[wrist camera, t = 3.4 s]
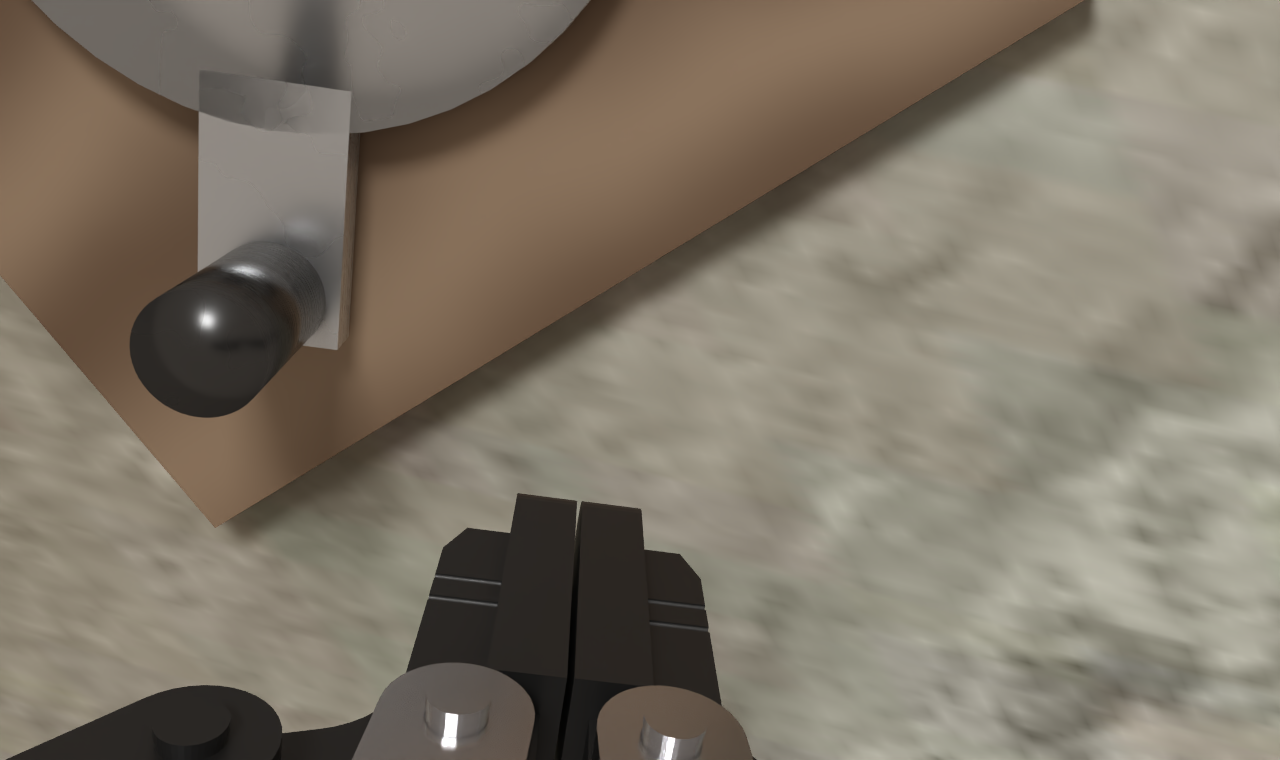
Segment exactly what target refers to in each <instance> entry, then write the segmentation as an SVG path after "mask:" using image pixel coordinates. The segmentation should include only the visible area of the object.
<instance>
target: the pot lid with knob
mask: <svg viewBox="0 0 1280 760" xmlns="http://www.w3.org/2000/svg"><path fill="white" fill-rule="evenodd" d="M32 1H33V2H34V3H35V4H36V5H37V6H38V7H39V8H40V9H41V10H42V11H43V12H44V13H45V14H46V15H47V16H48V17H49V18H50V19H51V20H52V21H53V22H54V23H55V24H56V25H57V26H58V27H59V28H61V29H62V30H63V31H64V32H66V33H67V34H68V35H69V36H71V37H72V38H73V39H74V40H75V41H77V42H78V43H79V44H80V45H82V46H83V47H84V48H85V49H87V50H88V51H89V52H90V53H92V54H93V55H94V56H95V57H97V58H98V59H100V60H101V61H103V62H104V63H106V64H108V65H109V66H111V67H112V68H114V69H115V70H117V71H119V72H120V73H122V74H123V75H125V76H126V77H128V78H130V79H131V80H133V81H134V82H136V83H137V84H139V85H141V86H143V87H145V88H147V89H149V90H151V91H153V92H155V93H157V94H160V95H162V96H164V97H166V98H168V99H170V100H172V101H174V102H176V103H178V104H180V105H182V106H185V107H188V108H191V109H193V110H196V111H199V157H198V272H197V273H195V274H194V275H192V276H191V277H189V278H187V279H186V280H184V281H183V282H181V283H179V284H178V285H176V286H175V287H173V288H171V289H170V290H168V291H167V292H165V293H163V294H162V295H160V296H159V297H157V298H155V299H154V300H153V301H151V302H150V303H149V304H148V305H146V306H145V307H144V308H143V310H142V311H141V312H140V313H139V315H138V316H137V318H136V320H135V322H134V324H133V327H132V330H131V335H130V344H129V347H130V356H131V361H132V364H133V367H134V370H135V372H136V374H137V376H138V378H139V380H140V381H141V382H142V384H143V385H144V387H145V388H146V389H147V390H148V391H149V393H150V394H151V395H153V396H154V397H155V398H156V399H157V400H158V401H160V402H161V403H162V404H164V405H165V406H167V407H169V408H171V409H173V410H175V411H177V412H179V413H182V414H186V415H189V416H194V417H202V418H213V417H220V416H225V415H228V414H231V413H233V412H236V411H238V410H240V409H241V408H243V407H244V406H246V405H247V404H248V403H249V402H250V401H251V400H252V399H253V398H254V397H255V396H256V395H257V394H258V393H259V392H260V391H261V390H262V389H263V388H264V386H265V385H266V384H267V383H268V382H269V381H270V380H271V379H272V378H273V377H274V376H275V375H276V374H277V373H278V371H279V370H280V369H281V368H282V367H283V366H284V365H285V364H286V363H287V362H288V361H289V360H290V359H291V358H292V356H293V355H294V354H295V353H296V352H297V351H298V350H299V349H300V348H301V347H302V346H310V347H318V348H325V349H333V350H338V349H339V348H340V346H341V345H342V344H343V343H344V341H345V340H346V339H347V338H348V337H349V319H350V302H351V284H352V267H353V249H354V232H355V214H356V197H357V179H358V162H359V145H360V133H362V132H369V131H374V130H380V129H385V128H390V127H395V126H401V125H406V124H410V123H413V122H416V121H419V120H422V119H425V118H428V117H431V116H434V115H437V114H439V113H442V112H445V111H448V110H451V109H453V108H455V107H457V106H459V105H461V104H463V103H465V102H467V101H469V100H471V99H473V98H475V97H477V96H479V95H481V94H483V93H485V92H487V91H489V90H491V89H493V88H494V87H496V86H497V85H499V84H500V83H502V82H503V81H504V80H506V79H507V78H509V77H510V76H512V75H513V74H515V73H516V72H517V71H519V70H520V69H522V68H523V67H525V66H526V65H528V64H529V63H531V62H532V61H533V60H534V59H535V58H536V57H537V56H539V55H540V54H541V53H542V52H543V51H544V50H545V49H546V48H547V47H548V46H550V45H551V44H552V43H553V42H554V41H555V40H556V39H557V38H558V37H559V36H560V35H562V34H563V33H564V32H565V31H566V30H567V28H568V27H569V26H570V25H571V24H572V22H573V21H574V20H575V19H576V18H577V16H578V15H579V14H580V13H581V12H582V10H583V9H584V8H585V7H586V6H587V4H588V3H589V2H590V1H591V0H32Z"/></svg>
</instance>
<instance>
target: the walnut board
mask: <svg viewBox="0 0 1280 760" xmlns="http://www.w3.org/2000/svg"><path fill="white" fill-rule="evenodd" d="M1082 1H1084V0H591V1H590V2H589V3H588V4H587V6H586V7H585V8H584V9H583V10H582V12H581V13H580V14H579V15H578V16H577V18H576V19H575V20H574V21H573V22H572V24H571V25H570V26H569V27H568V28H567V30H566V31H565V32H564V33H563V34H562V35H560V36H559V37H558V38H557V39H556V40H555V41H554V42H553V43H552V44H551V45H550V46H548V47H547V48H546V49H545V50H544V51H543V52H542V53H541V54H540V55H539V56H537V57H536V58H535V59H534V60H533V61H532V62H531V63H529V64H528V65H526V66H525V67H523V68H522V69H520V70H519V71H517V72H516V73H515V74H513V75H512V76H510V77H509V78H507V79H506V80H504V81H503V82H502V83H500V84H499V85H497V86H496V87H494V88H493V89H491V90H489V91H487V92H485V93H483V94H481V95H479V96H477V97H475V98H473V99H471V100H469V101H467V102H465V103H463V104H461V105H459V106H457V107H455V108H453V109H451V110H448V111H445V112H442V113H439V114H437V115H434V116H431V117H428V118H425V119H422V120H419V121H416V122H413V123H410V124H406V125H401V126H395V127H390V128H385V129H380V130H374V131H369V132H362V133H360V145H359V162H358V179H357V197H356V214H355V232H354V249H353V267H352V284H351V302H350V319H349V337H348V338H347V339H346V340H345V341H344V343H343V344H342V345H341V346H340V348H339V349H338V350H333V349H325V348H318V347H310V346H302V347H301V348H300V349H299V350H298V351H297V352H296V353H295V354H294V355H293V356H292V358H291V359H290V360H289V361H288V362H287V363H286V364H285V365H284V366H283V367H282V368H281V369H280V370H279V371H278V373H277V374H276V375H275V376H274V377H273V378H272V379H271V380H270V381H269V382H268V383H267V384H266V385H265V386H264V388H263V389H262V390H261V391H260V392H259V393H258V394H257V395H256V396H255V397H254V398H253V399H252V400H251V401H250V402H249V403H248V404H247V405H246V406H244V407H243V408H241V409H240V410H238V411H236V412H233V413H231V414H228V415H225V416H220V417H213V418H202V417H194V416H189V415H186V414H182V413H179V412H177V411H175V410H173V409H171V408H169V407H167V406H165V405H164V404H162V403H161V402H160V401H158V400H157V399H156V398H155V397H154V396H153V395H151V394H150V393H149V391H148V390H147V389H146V388H145V387H144V385H143V384H142V382H141V381H140V380H139V378H138V376H137V374H136V372H135V370H134V367H133V364H132V361H131V356H130V347H129V344H130V335H131V330H132V327H133V324H134V322H135V320H136V318H137V316H138V315H139V313H140V312H141V311H142V310H143V308H144V307H145V306H146V305H148V304H149V303H150V302H151V301H153V300H154V299H155V298H157V297H159V296H160V295H162V294H163V293H165V292H167V291H168V290H170V289H171V288H173V287H175V286H176V285H178V284H179V283H181V282H183V281H184V280H186V279H187V278H189V277H191V276H192V275H194V274H195V273H197V272H198V157H199V111H196V110H193V109H191V108H188V107H185V106H182V105H180V104H178V103H176V102H174V101H172V100H170V99H168V98H166V97H164V96H162V95H160V94H157V93H155V92H153V91H151V90H149V89H147V88H145V87H143V86H141V85H139V84H137V83H136V82H134V81H133V80H131V79H130V78H128V77H126V76H125V75H123V74H122V73H120V72H119V71H117V70H115V69H114V68H112V67H111V66H109V65H108V64H106V63H104V62H103V61H101V60H100V59H98V58H97V57H95V56H94V55H93V54H92V53H90V52H89V51H88V50H87V49H85V48H84V47H83V46H82V45H80V44H79V43H78V42H77V41H75V40H74V39H73V38H72V37H71V36H69V35H68V34H67V33H66V32H64V31H63V30H62V29H61V28H59V27H58V26H57V25H56V24H55V23H54V22H53V21H52V20H51V19H50V18H49V17H48V16H47V15H46V14H45V13H44V12H43V11H42V10H41V9H40V8H39V7H38V6H37V5H36V4H35V3H34V2H33V1H32V0H0V276H1V277H2V278H3V279H4V280H5V282H6V283H7V284H8V285H9V286H10V287H11V289H12V290H13V291H14V292H15V293H16V294H17V296H18V297H19V298H20V299H21V300H22V301H23V303H24V304H25V305H26V306H27V307H28V309H29V310H30V311H31V312H32V313H33V314H34V316H35V317H36V318H37V319H38V320H39V321H40V323H41V324H42V325H43V326H44V327H45V328H46V330H47V331H48V332H49V333H50V334H51V336H52V337H53V338H54V339H55V340H56V341H57V343H58V344H59V345H60V346H61V347H62V348H63V350H64V351H65V352H66V353H67V354H68V356H69V357H70V358H71V359H72V360H73V361H74V363H75V364H76V365H77V366H78V367H79V368H80V370H81V371H82V372H83V373H84V374H85V375H86V377H87V378H88V379H89V380H90V381H91V383H92V384H93V385H94V386H95V387H96V388H97V390H98V391H99V392H100V393H101V394H102V395H103V397H104V398H105V399H106V400H107V401H108V403H109V404H110V405H111V406H112V407H113V408H114V410H115V411H116V412H117V413H118V414H119V415H120V417H121V418H122V419H123V420H124V421H125V422H126V424H127V425H128V426H129V427H130V428H131V430H132V431H133V432H134V433H135V434H136V435H137V437H138V438H139V439H140V440H141V441H142V442H143V444H144V445H145V446H146V447H147V448H148V450H149V451H150V452H151V453H152V454H153V455H154V457H155V458H156V459H157V460H158V461H159V462H160V464H161V465H162V466H163V467H164V468H165V469H166V471H167V472H168V473H169V474H170V475H171V477H172V478H173V479H174V480H175V481H176V482H177V484H178V485H179V486H180V487H181V488H182V489H183V491H184V492H185V493H186V494H187V495H188V496H189V498H190V499H191V500H192V501H193V502H194V504H195V505H196V506H197V507H198V508H199V509H200V511H201V512H202V513H203V514H204V515H205V516H206V518H207V519H208V520H209V521H210V522H211V524H212V525H213V526H214V527H215V528H216V527H218V526H219V525H221V524H222V523H224V522H226V521H227V520H229V519H231V518H232V517H234V516H236V515H237V514H239V513H241V512H242V511H244V510H246V509H247V508H249V507H250V506H252V505H254V504H255V503H257V502H259V501H260V500H262V499H264V498H265V497H267V496H269V495H270V494H272V493H274V492H275V491H277V490H278V489H280V488H282V487H283V486H285V485H287V484H288V483H290V482H292V481H293V480H295V479H297V478H298V477H300V476H302V475H303V474H305V473H306V472H308V471H310V470H311V469H313V468H315V467H316V466H318V465H320V464H321V463H323V462H325V461H326V460H328V459H330V458H331V457H333V456H334V455H336V454H338V453H339V452H341V451H343V450H344V449H346V448H348V447H349V446H351V445H353V444H354V443H356V442H358V441H359V440H361V439H362V438H364V437H366V436H367V435H369V434H371V433H372V432H374V431H376V430H377V429H379V428H381V427H382V426H384V425H386V424H387V423H389V422H390V421H392V420H394V419H395V418H397V417H399V416H400V415H402V414H404V413H405V412H407V411H409V410H410V409H412V408H414V407H415V406H417V405H419V404H420V403H422V402H423V401H425V400H427V399H428V398H430V397H432V396H433V395H435V394H437V393H438V392H440V391H442V390H443V389H445V388H447V387H448V386H450V385H451V384H453V383H455V382H456V381H458V380H460V379H461V378H463V377H465V376H466V375H468V374H470V373H471V372H473V371H475V370H476V369H478V368H479V367H481V366H483V365H484V364H486V363H488V362H489V361H491V360H493V359H494V358H496V357H498V356H499V355H501V354H503V353H504V352H506V351H507V350H509V349H511V348H512V347H514V346H516V345H517V344H519V343H521V342H522V341H524V340H526V339H527V338H529V337H531V336H532V335H534V334H535V333H537V332H539V331H540V330H542V329H544V328H545V327H547V326H549V325H550V324H552V323H554V322H555V321H557V320H559V319H560V318H562V317H563V316H565V315H567V314H568V313H570V312H572V311H573V310H575V309H577V308H578V307H580V306H582V305H583V304H585V303H587V302H588V301H590V300H591V299H593V298H595V297H596V296H598V295H600V294H601V293H603V292H605V291H606V290H608V289H610V288H611V287H613V286H615V285H616V284H618V283H619V282H621V281H623V280H624V279H626V278H628V277H629V276H631V275H633V274H634V273H636V272H638V271H639V270H641V269H643V268H644V267H646V266H647V265H649V264H651V263H652V262H654V261H656V260H657V259H659V258H661V257H662V256H664V255H666V254H667V253H669V252H671V251H672V250H674V249H675V248H677V247H679V246H680V245H682V244H684V243H685V242H687V241H689V240H690V239H692V238H694V237H695V236H697V235H699V234H700V233H702V232H703V231H705V230H707V229H708V228H710V227H712V226H713V225H715V224H717V223H718V222H720V221H722V220H723V219H725V218H727V217H728V216H730V215H731V214H733V213H735V212H736V211H738V210H740V209H741V208H743V207H745V206H746V205H748V204H750V203H751V202H753V201H755V200H756V199H758V198H759V197H761V196H763V195H764V194H766V193H768V192H769V191H771V190H773V189H774V188H776V187H778V186H779V185H781V184H783V183H784V182H786V181H787V180H789V179H791V178H792V177H794V176H796V175H797V174H799V173H801V172H802V171H804V170H806V169H807V168H809V167H811V166H812V165H814V164H815V163H817V162H819V161H820V160H822V159H824V158H825V157H827V156H829V155H830V154H832V153H834V152H835V151H837V150H839V149H840V148H842V147H843V146H845V145H847V144H848V143H850V142H852V141H853V140H855V139H857V138H858V137H860V136H862V135H863V134H865V133H867V132H868V131H870V130H871V129H873V128H875V127H876V126H878V125H880V124H881V123H883V122H885V121H886V120H888V119H890V118H891V117H893V116H895V115H896V114H898V113H899V112H901V111H903V110H904V109H906V108H908V107H909V106H911V105H913V104H914V103H916V102H918V101H919V100H921V99H923V98H924V97H926V96H927V95H929V94H931V93H932V92H934V91H936V90H937V89H939V88H941V87H942V86H944V85H946V84H947V83H949V82H951V81H952V80H954V79H955V78H957V77H959V76H960V75H962V74H964V73H965V72H967V71H969V70H970V69H972V68H974V67H975V66H977V65H979V64H980V63H982V62H983V61H985V60H987V59H988V58H990V57H992V56H993V55H995V54H997V53H998V52H1000V51H1002V50H1003V49H1005V48H1007V47H1008V46H1010V45H1011V44H1013V43H1015V42H1016V41H1018V40H1020V39H1021V38H1023V37H1025V36H1026V35H1028V34H1030V33H1031V32H1033V31H1035V30H1036V29H1038V28H1039V27H1041V26H1043V25H1044V24H1046V23H1048V22H1049V21H1051V20H1053V19H1054V18H1056V17H1058V16H1059V15H1061V14H1063V13H1064V12H1066V11H1067V10H1069V9H1071V8H1072V7H1074V6H1076V5H1077V4H1079V3H1081V2H1082Z"/></svg>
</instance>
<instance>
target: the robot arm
mask: <svg viewBox="0 0 1280 760" xmlns="http://www.w3.org/2000/svg"><path fill="white" fill-rule="evenodd" d="M576 509H577V501H574V500H566V499H559V498H551V497H543V496H535V495H527V494H519V493H518V494H517V499H516V505H515V510H514V516H513V521H512V527H511V533H504V532H496V531H488V530H480V529H472V528H467V529H466V530H464V531H463V532H462V533H461V534H459V535H458V536H457V537H456V538H454V539H453V540H452V541H451V542H449V543H448V544H447V545H446V546H445V547H443V550H442V553H441V557H440V560H439V563H438V567H437V570H436V574H435V578H434V580H433V584H432V587H431V590H430V594H429V600H427V604H426V607H425V611H424V614H423V617H422V621H421V624H420V627H419V631H418V634H417V637H416V641H415V644H414V648H413V651H412V654H411V658H410V661H409V664H408V668H407V671H406V673H405V674H403V675H401V676H400V677H398V678H397V679H395V680H394V681H393V682H391V683H390V685H389V686H388V687H387V688H386V689H385V690H384V692H383V693H382V695H381V697H380V699H379V701H378V703H377V705H376V707H375V710H374V712H373V713H371V714H369V715H368V716H366V717H364V718H361V719H358V720H356V721H353V722H350V723H347V724H343V725H339V726H335V727H329V728H323V729H316V730H307V731H299V732H290V733H282V726H281V722H280V719H279V717H278V715H277V714H276V712H275V711H274V709H273V708H272V707H271V706H270V705H269V704H267V703H266V702H265V701H263V700H262V699H260V698H259V697H257V696H255V695H253V694H250V693H248V692H246V691H242V690H239V689H235V688H230V687H223V686H210V685H200V686H187V687H181V688H175V689H171V690H167V691H163V692H160V693H157V694H154V695H151V696H149V697H146V698H144V699H141V700H139V701H137V702H135V703H132V704H130V705H128V706H126V707H123V708H121V709H119V710H117V711H114V712H112V713H110V714H108V715H105V716H103V717H101V718H99V719H96V720H94V721H92V722H90V723H87V724H85V725H83V726H81V727H78V728H76V729H74V730H72V731H69V732H67V733H65V734H63V735H60V736H58V737H56V738H53V739H51V740H49V741H47V742H44V743H42V744H40V745H38V746H35V747H33V748H31V749H29V750H26V751H24V752H22V753H20V754H17V755H15V756H13V757H11V758H8V759H6V760H756V759H755V758H754V757H753V756H752V753H751V750H750V747H749V743H748V740H747V737H746V735H745V732H744V730H743V728H742V727H741V725H740V724H739V722H738V721H737V720H736V719H735V717H734V716H733V715H732V714H731V713H730V712H728V711H727V710H726V709H725V708H723V707H722V705H721V699H720V693H719V687H718V681H717V675H716V669H715V663H714V657H713V651H712V645H711V639H710V633H709V632H708V621H707V615H706V610H704V608H705V603H704V597H703V591H702V585H701V579H700V578H699V576H698V575H697V574H696V573H695V572H694V571H693V569H692V568H691V567H690V566H689V565H688V563H687V562H686V561H685V560H684V559H683V557H682V556H681V555H680V554H675V553H667V552H659V551H651V550H644V539H643V526H642V512H641V509H638V508H631V507H623V506H615V505H607V504H599V503H591V502H584V501H582V502H581V506H580V511H579V517H578V523H577V530H576V536H575V527H576Z"/></svg>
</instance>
